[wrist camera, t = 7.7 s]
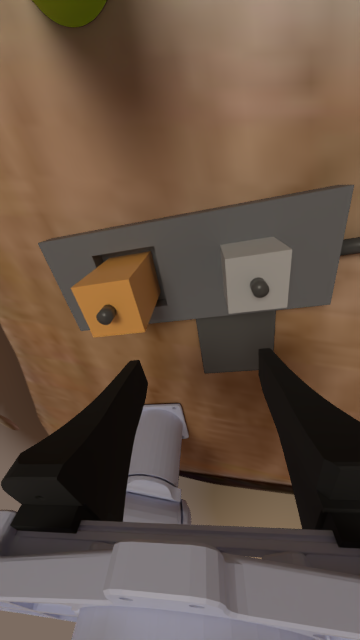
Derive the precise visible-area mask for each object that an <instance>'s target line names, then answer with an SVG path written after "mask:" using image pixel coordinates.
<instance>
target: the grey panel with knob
mask: <svg viewBox="0 0 360 640" xmlns="http://www.w3.org/2000/svg"><path fill="white" fill-rule="evenodd" d="M353 188H354V185H336V186H330V187H325V188H319V189H314V190H309V191H303V192H298V193H293V194H287V195H282V196H277V197H271V198H266V199H261V200H255V201H250V202H244V203H239V204H234V205H228V206H223V207H218V208H212V209H207V210H202V211H196V212H191V213H185V214H180V215H175V216H169V217H164V218H159V219H153V220H148V221H143V222H137V223H132V224H127V225H121V226H116V227H110V228H105V229H100V230H94V231H89V232H84V233H78V234H73V235H68V236H62V237H57V238H52V239H49V240H46V241H43V242H40V243H38V245H39V247H40V249H41V251H42V253H43V255H44V257H45V259H46V261H47V263H48V265H49V267H50V269H51V271H52V273H53V275H54V277H55V279H56V281H57V283H58V285H59V287H60V289H61V291H62V294H63V296H64V298H65V300H66V302H67V304H68V306H69V308H70V310H71V312H72V314H73V316H74V318H75V320H76V322H77V324H78V326H79V328H80V330H81V331H85V330H90V328H89V326H88V324H87V322H86V320H85V318H84V315H83V313H82V311H81V309H80V307H79V305H78V303H77V301H76V298H75V296H74V294H73V292H72V290H71V287H72V286H74V285H75V284H76V283H78V282H79V281H80V280H82V279H83V278H84V277H85V276H87V275H88V274H89V273H91V272H92V271H93V270H94V269H96V268H97V267H98V266H100V265H101V264H102V263H104V262H105V261H106V260H107V259H109V258H112V257H118V256H124V255H130V254H136V253H142V252H148V251H151V254H152V258H153V262H154V266H155V270H156V274H157V279H158V283H159V287H160V291H161V292H160V295H159V297H158V300H157V303H156V305H155V308H154V310H153V313H152V316H151V318H150V321H149V323H148V324H151V323H160V322H170V321H179V320H188V319H198V318H207V317H217V316H226V315H235V314H245V313H254V312H264V311H273V310H282V309H292V308H301V307H311V306H320V305H329V304H330V303H331V298H332V293H333V288H334V283H335V278H336V273H337V268H338V263H339V258H340V255H347V254H354V253H360V237H358V238H351V239H345V240H343V238H344V233H345V228H346V223H347V218H348V213H349V208H350V203H351V198H352V193H353Z"/></svg>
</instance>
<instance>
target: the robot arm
mask: <svg viewBox="0 0 360 640" xmlns="http://www.w3.org/2000/svg"><path fill="white" fill-rule="evenodd" d="M258 356H259V378H260V382H261V386H262V390H263V393H264V396H265V399H266V401H267V404H268V407H269V409H270V412H271V415H272V417H273V420H274V423H275V425H276V428H277V431H278V434H279V437H280V441H281V445H282V449H283V452H284V456H285V460H286V464H287V467H288V471H289V475H290V479H291V483H292V487H293V491H294V495H295V499H296V504H297V508H298V512H299V516H300V521H301V525H302V529H284V528H260V527H237V526H211V525H191V514H190V510H189V507H188V505H187V503H186V501H185V500H183V499H181V489H179V488H178V480H179V479H178V478H179V467H180V454H181V441H182V439H186V438H188V437H189V434H188V430H187V426H186V422H185V419H184V415H183V411H182V407H181V405H180V404H156V405H144V403H145V399H146V393H147V386H148V382H147V379H146V377H145V374H144V371H143V369H142V366H141V363H140V361H139V360H134V361H130V362H129V363H128V364H127V365H126V366H125V367H124V368H123V369H122V371H121V372H120V373H119V374H118V375H117V376H116V377H115V379H114V380H113V381H112V382H111V383H110V384H109V385H108V386H107V387H106V388H105V389H104V391H103V392H102V393H101V394H100V395H99V396H98V397H97V398H96V399H95V400H94V401H93V402H92V403H90V404H89V405H88V406H87V407H86V408H85V409H84V410H83V411H81V412H80V413H79V414H78V415H76V416H75V417H74V418H73V419H71V420H70V421H69V422H68V423H66V424H65V425H64V426H62V427H61V428H60V429H58V430H57V431H55V432H54V433H52V434H51V435H49V436H48V437H46V438H45V439H43V440H42V441H40V442H39V443H37V444H35V445H34V446H32V447H30V448H29V449H27V450H26V451H24V452H22V453H21V454H20V455H19V456H18V458H17V459H16V461H15V462H14V464H13V465H12V467H11V468H10V469H9V471H8V472H7V474H6V475H5V477H4V478H3V480H2V482H1V486H2V488H3V490H4V491H5V492H6V493H8V494H9V495H10V496H11V497H13V498H14V499H15V500H17V501H18V502H19V503H21V504H22V505H21V507H20V508H19V510H18V512H16V511H13V510H0V610H2V611H9V612H16V613H22V614H28V615H35V616H41V617H47V618H54V619H60V620H66V621H72V622H76V625H75V629H74V632H73V636H72V639H71V640H360V422H359V421H358V420H356V419H354V418H353V417H351V416H350V415H348V414H346V413H345V412H343V411H342V410H340V409H339V408H337V407H336V406H334V405H333V404H331V403H330V402H328V401H327V400H326V399H324V398H323V397H322V396H320V395H319V394H318V393H316V392H315V391H314V390H313V389H311V388H310V387H309V386H308V385H307V384H306V383H304V382H303V381H302V380H301V379H300V378H299V377H298V376H297V375H296V374H295V373H293V372H292V371H291V370H290V369H289V368H288V367H287V366H286V365H285V364H284V363H283V362H282V360H281V359H280V358H279V357H278V356H277V355H276V354H275V353H274V352H273V350H272V349H271V348H262V349H258ZM245 556H247V557H245ZM251 557H262V559H257V558H251Z"/></svg>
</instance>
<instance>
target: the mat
mask: <svg viewBox="0 0 360 640" xmlns="http://www.w3.org/2000/svg"><path fill="white" fill-rule="evenodd" d="M275 315H276V310H273V311H264V312H254V313H245V314H235V315H226V316H217V317H207V318H198V319H196V323H197V329H198V335H199V342H200V348H201V354H202V360H203V367H204V373H220V372H235V371H251V370H259V356H258V349H262V348H271V349H272V350H274V333H275Z"/></svg>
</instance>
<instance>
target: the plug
mask: <svg viewBox="0 0 360 640" xmlns="http://www.w3.org/2000/svg"><path fill="white" fill-rule="evenodd" d="M71 290H72V292H73V294H74V296H75V298H76V301H77V303H78V305H79V307H80V309H81V311H82V313H83V315H84V318H85V320H86V322H87V324H88V326H89V328H90V330H91V332H92V335H93V337H103V336H112V335H122V334H131V333H141V332H145V331H146V329H147V326H148V323H149V321H150V318H151V316H152V313H153V310H154V308H155V305H156V303H157V300H158V297H159V295H160V292H161V291H160V287H159V283H158V279H157V274H156V270H155V266H154V262H153V258H152V254H151V251H148V252H142V253H136V254H130V255H124V256H118V257H112V258H109V259H107V260H106V261H105V262H104V263H102V264H101V265H100V266H98V267H97V268H96V269H94V270H93V271H92V272H91V273H89V274H88V275H87V276H85V277H84V278H83V279H82V280H80V281H79V282H78V283H76V284H75V285H74V286H72V287H71Z"/></svg>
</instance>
